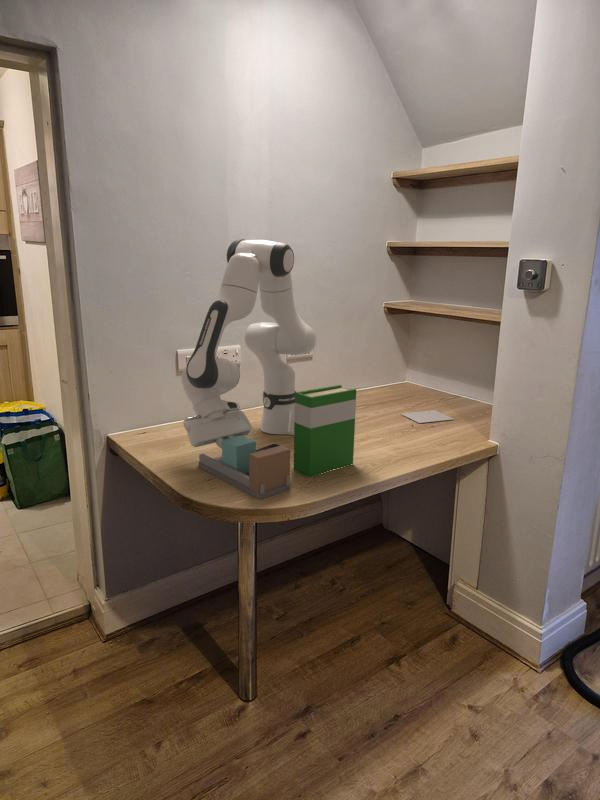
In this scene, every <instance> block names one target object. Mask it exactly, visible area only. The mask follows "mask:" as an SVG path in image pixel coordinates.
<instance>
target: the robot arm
mask: <svg viewBox="0 0 600 800" xmlns="http://www.w3.org/2000/svg"><path fill="white" fill-rule="evenodd" d="M226 261H227V265H226V267H225V270H224V272H223V276H222V280H221V285H220V290H219V292H218V295H217V297H216V299H215V301H214V302H212V304H211V305H210V307H209V308H208V311H207V313H206V316H205V318H204V322H203V323H202V327H201V330H200V333H199V336H198V339H197V342H196V346H195V348H194V350H193V352H192V354H191V356H190V357H189V359H188V361H187V364H186V367H185V368H184V370H183V371H182V372H181V377H180V378H181V384H182V387H183V390H184V393H185V395H186V397H187V399H188V401H190V403H191V405H192V409H193V412H194V414H195V415H193V416H189V417H186V418H185V419H184V420H183V426H184V429H185V431H186V432H187V437H188V439H189V443H190V445H191V446H192V447H193V448H199V447H204V446H207V445H212V444H216V446H217V447H219V448H220V449H221V450H222V440H225V439H229V438H233V437H237V436H241V435H242V436H244V437H246V436H247V435H249V434H250V433H251V431H252V424H251V422H250V420H249V418H248V416H247V414H246V413H245V412H244V411H243V410H242V409H241V405H240V403H239V402H237V401H228V400H224V399H221V395H224V394H225V393H228V392H229V391H231V390H233V389H235V388H236V387H237V386H238V384H239V381H240V378H241V371H240V368H239V366H238V364H237V363H236V362H235V361H233V360H230V359H226V358H222V357H217V352H218V349H219V345H220V343H221V340H222V336H223V335H224V331H225V329H226V327H227V326H228V325H229V324H231V323H233V322H236V321H241V320H242V319H244V318H247V317H248V316H249V315H250V314H251V313H252V312H253V309H254V307H255V306H256V305H255V304H256V302H257V301H256V300H257V296H258V290H259V297H260V306H261V307H260V308H261V309H262V312H263V313H264V314H266V315H267V316H268V317H270V318H271V319H273V320H274V321H275V322H268V321H267V322H266V321H261V322H255V323H251V324H249V325H248V326H247V328H246V330H245V331H244V343H245V345H246V347H247V349H248V350H250V351H251V352H252V353H253V354H254V355H255V356H256V357H257V359H258V361H259V362H260V364H261V367H262V371H263V381H264V382H263V383H264V384H263V385H264V386H263V388H264V389H263V392H262V402H263V411H262V418H261V422H260V426H259V430H260V431H261V432H263V433H265V434H266V433H267V434H272V435H291V436H294V416H295V393H296V392H297V391H296V386H295V385H296V373H295V372H296V371H295V369H294V368H293V367H292V366H290V365H289V364H287V363H286V362H285V361H283V359H282V358H281V355H288V356H289V355H291V356H300V355H307V354H310V353H312V351H313V350H314V349H315V346H316V344H317V336H316V333H315V330H314V329H313V327H311V326H310V325H308V324H307V323H306V322H305V321H304V320H303V319H302V318H301V317H300V316H301V315H299V314H298V312H297V309H296V306H295V302H294V294H293V282H292V281H293V280H292V275H291V271H292V270H293V267H294V263H295V254H294V251H293V249H292V248H291V246H290V244H288V243H285V242H282V241H274V240H270V239H269V240H267V239H244V238H243V239H236V240H234V241H232V242H231V243H230V245H229V246H228V248H227V250H226ZM298 392H301V391H298Z"/></svg>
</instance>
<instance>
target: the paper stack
mask: <svg viewBox="0 0 600 800" xmlns="http://www.w3.org/2000/svg"><path fill="white" fill-rule="evenodd" d="M429 412H430V413H429ZM399 414H400V415H402V416H404V417H406V418H408V419H409V420H410V419H411V420H412V421H414V422H416V423H418V424H421V423H430V422H441V421H451V420H454V418H453V417H451V416H449V415H447V414H444V413H441V412H439V411H437V410H435V409H433V410H431V409H430V410H423V411H422V410H421V411H413V412H412V411H411V412H402V413H401V412H400V413H399Z"/></svg>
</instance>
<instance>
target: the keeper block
mask: <svg viewBox="0 0 600 800" xmlns="http://www.w3.org/2000/svg"><path fill="white" fill-rule="evenodd" d="M256 450H257V441H256V440H254V439H252V438H249V437H246V436H242V435H241V436H237V437H233V438H229V439H225V440H222V449H221V456H222V463H223V464H225V465H227V466H229V467H231V468H233V469H235V470H237V471H239V472H241V473H243V474H247V473H249V454H251V453H255V452H256Z"/></svg>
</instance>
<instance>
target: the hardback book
mask: <svg viewBox="0 0 600 800" xmlns="http://www.w3.org/2000/svg"><path fill="white" fill-rule="evenodd" d="M342 387H343V386H342V384H336V385H330V386H326V387H318V388H314V389H308V390H303V391H300V392H299V391H296V393H295V416H294V435H293V471H294V472H297V473H299V474H302V475H303V476H305V477H308V478H309V477H310V478H313V477H316V475H317V476H319V474H320V475H322V474H321V473H323V474H325V473H324V472H327V471H330V470H333V469H337V468H340V469H342V468H341V467H344V466H347V465H350V466H352V465H351V464H353V465H354V453H355V451H354V450H355V433H356V432H355V428H356V408H357V407H356V406H357V389H356V388H351V389H345V388H342ZM347 467H348V466H347ZM344 468H345V467H344ZM337 470H338V469H337ZM333 471H334V470H333ZM330 472H331V471H330ZM327 473H328V472H327ZM312 476H313V477H312Z"/></svg>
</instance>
